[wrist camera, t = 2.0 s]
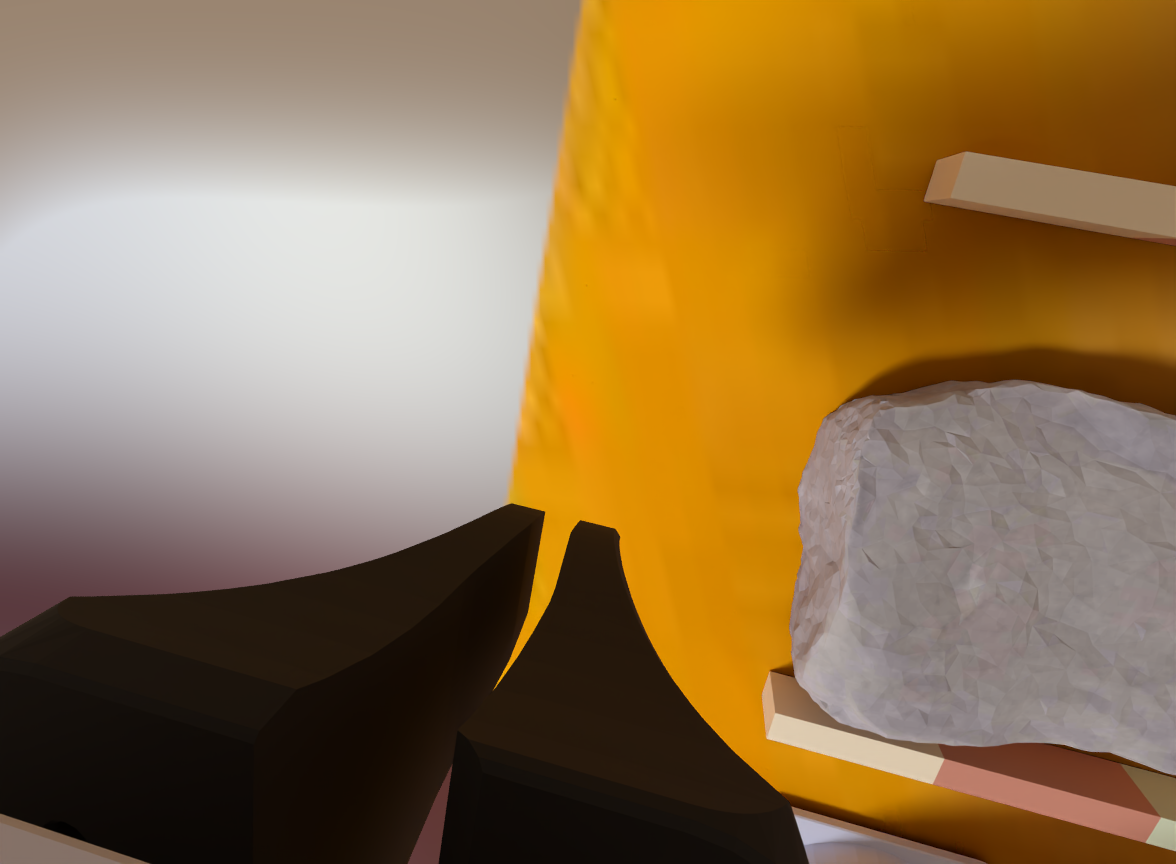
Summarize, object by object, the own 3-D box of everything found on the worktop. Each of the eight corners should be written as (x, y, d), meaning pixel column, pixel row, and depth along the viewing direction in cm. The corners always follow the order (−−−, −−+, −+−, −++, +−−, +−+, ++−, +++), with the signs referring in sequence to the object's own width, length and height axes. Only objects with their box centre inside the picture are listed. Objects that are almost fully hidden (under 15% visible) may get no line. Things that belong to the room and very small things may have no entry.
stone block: (798, 370, 21) (774, 670, 22) (834, 370, 16) (801, 756, 17) (1217, 389, 19) (1168, 712, 20) (1396, 397, 14) (1320, 819, 15)
